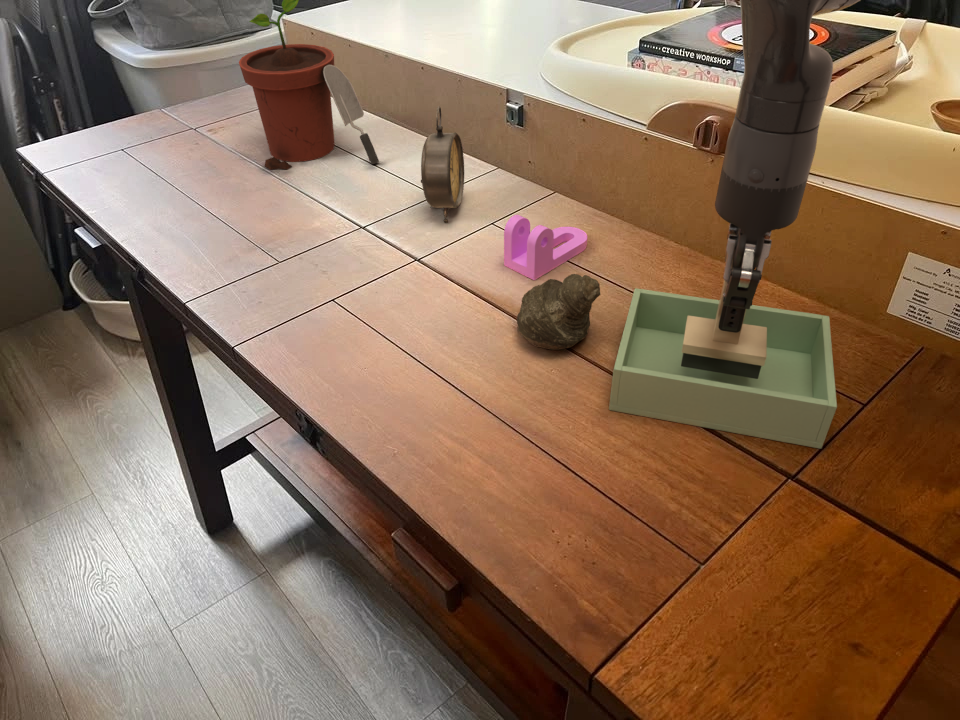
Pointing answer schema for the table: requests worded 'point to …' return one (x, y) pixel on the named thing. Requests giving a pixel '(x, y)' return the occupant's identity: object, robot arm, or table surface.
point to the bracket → (539, 246)
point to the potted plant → (299, 98)
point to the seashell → (558, 311)
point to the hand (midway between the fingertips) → (729, 320)
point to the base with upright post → (724, 346)
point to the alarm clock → (442, 169)
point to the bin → (723, 397)
